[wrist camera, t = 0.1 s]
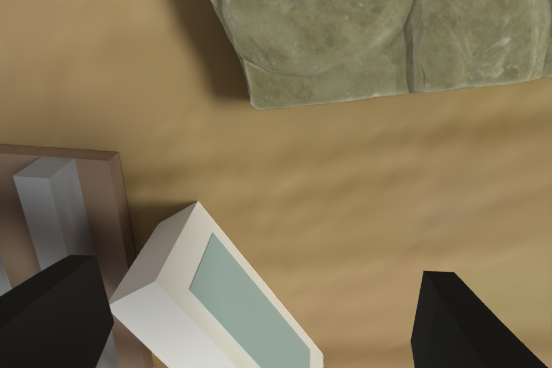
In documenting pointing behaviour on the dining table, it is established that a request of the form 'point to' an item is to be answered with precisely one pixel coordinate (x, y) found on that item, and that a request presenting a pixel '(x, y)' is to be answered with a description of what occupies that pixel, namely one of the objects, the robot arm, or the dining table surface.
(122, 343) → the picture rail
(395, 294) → the dining table surface
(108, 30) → the dining table surface
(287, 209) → the dining table surface
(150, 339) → the tall cream box
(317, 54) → the green stone slab
